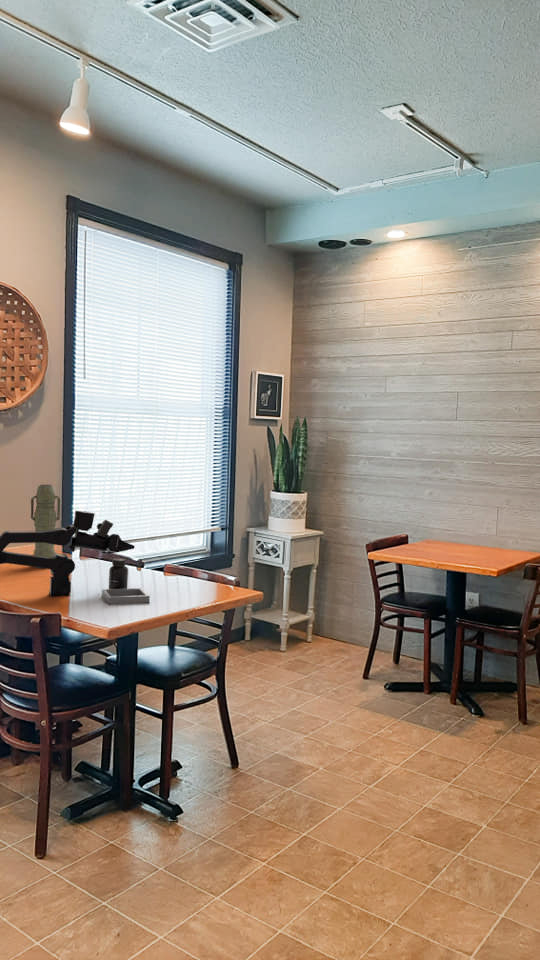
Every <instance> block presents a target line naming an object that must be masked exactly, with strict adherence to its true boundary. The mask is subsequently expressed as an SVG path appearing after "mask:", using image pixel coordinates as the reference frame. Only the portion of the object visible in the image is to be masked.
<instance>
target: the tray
mask: <svg viewBox="0 0 540 960" xmlns="http://www.w3.org/2000/svg"><path fill="white" fill-rule="evenodd" d="M150 597H151V596H150V595H149V593H147V592H146V591H145V590H144V589H143V588H142V587H137V588H136V587H134V588H127V589H109V588H107V589H105V588H104V589H101V598H102V599H103V600H104V601H105V602H106V603H107V605H109V606H110V605H111V606H112V605H113V606H114V605H134V604H135V605H137V604H150Z"/></svg>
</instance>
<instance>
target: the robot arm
mask: <svg viewBox="0 0 540 960" xmlns="http://www.w3.org/2000/svg"><path fill="white" fill-rule="evenodd" d="M95 515H96V514H95V512H92V511H87V510H83V511H82V510H75V512H74V519H73V523H72V524H69V525H68V526H65V527H57V528H56V527H55V529H51V530H47V531H33V530H32V531H31V530H30V531H29V530H28V531H9V530H5V531H3V532H2V533H1V534H0V565H2V564H3V565H4V564H8V565H17V566H24V567H25V566H26V567H33V568H35V567H40V568H39V569H46V570H47V569H48V570H50V571H49V572H50V573H51V576H50V578H49V583H50V584H49V595H50V597H66V596H70V595H71V591H72V590H71V587H72V581H71V580H70V575H71V574H73V572H74V571H75V569H76V564H75V562H74V561H75V560H73V559H72V558H71V556H68V555H67V553H63V554H62V553H58V552H55V553H54V556H53V557H44V556H36V555H34V554H28V553H19V552H13V551H6V550H4V549H6V547H8V545H9V544H31V543H33V544H35V543H49V544H54V546H55V545H56V546H62V547H64V546H67V548H69V549H70V551H71V552H72V553H74V552H75V550H76V549H75V548H79V549H85V550H89V551H97V552H99V554H101V555H110V554H116V553H121V552H125V551H129V550H134V549H135V545H134V544H131V543H129V542H127V541H124V540H122V538H121V536H120V535H119V534H118V533H117V534H116V533H112V534H108V533H109V532H110V530H111V528H113V527H114V523H113V522H112V521H109V520H108V519H105V520H102V522H99V523H98V524H97V525H96V529H97V532H94V533H91V532H89V531H90V530H91V529H93V523H94V518H95ZM83 531H84V532H83ZM69 543H70V544H69Z"/></svg>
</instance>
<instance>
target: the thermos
mask: <svg viewBox="0 0 540 960" xmlns="http://www.w3.org/2000/svg"><path fill="white" fill-rule="evenodd" d="M35 494H36V495H34V496H32V497H31V498H30V519H31V520H32V521H33V522H34V524H33V525H34V529H35V531H47V530H51V529H56V525H57V521H60V517H61V499H60V497H59V496H58V495H56V490H55V487H54V485H52V484H40V485H38V486H37V489H36V493H35ZM35 499H36V501H34V500H35ZM56 499H57V510H56V509H55V503H56ZM35 502H36V507H35V511H34V504H35ZM56 511H57V512H56ZM54 553H56V551H55V545H54V544H49V543H34V550H33V555H36V556H44V557H53V556H54ZM34 568H36V569H41V568H40V567H34Z"/></svg>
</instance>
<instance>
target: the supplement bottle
mask: <svg viewBox="0 0 540 960" xmlns="http://www.w3.org/2000/svg"><path fill="white" fill-rule="evenodd" d="M111 563H112V566H110V567H109V569H108V571H109V572H108V589H128V580H129V569H128V567H127V566H126V563H127V562H126V559H125V558H113V559H112V562H111Z"/></svg>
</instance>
